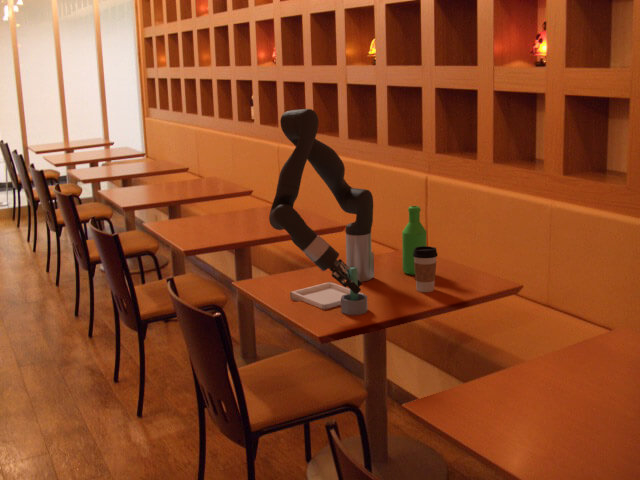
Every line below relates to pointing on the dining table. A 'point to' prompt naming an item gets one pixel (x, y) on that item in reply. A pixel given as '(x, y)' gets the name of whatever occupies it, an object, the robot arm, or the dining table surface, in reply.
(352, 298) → the green rounded rod
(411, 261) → the bottle
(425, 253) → the coffee cup
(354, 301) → the cup
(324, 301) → the tray
